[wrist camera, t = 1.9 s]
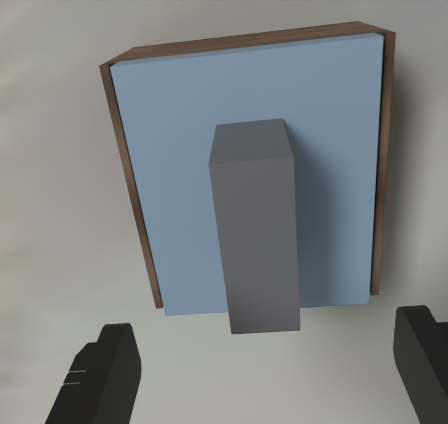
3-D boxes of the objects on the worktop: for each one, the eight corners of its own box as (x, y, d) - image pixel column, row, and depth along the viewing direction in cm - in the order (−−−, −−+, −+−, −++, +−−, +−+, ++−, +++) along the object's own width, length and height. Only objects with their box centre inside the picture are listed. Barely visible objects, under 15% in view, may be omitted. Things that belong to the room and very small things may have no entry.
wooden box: (133, 47, 25) (99, 66, 19) (357, 21, 24) (395, 32, 18) (172, 247, 32) (156, 308, 26) (351, 234, 31) (378, 294, 25)
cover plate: (118, 61, 20) (68, 91, 14) (373, 32, 19) (430, 52, 13) (169, 299, 26) (149, 386, 21) (362, 287, 25) (397, 374, 20)
